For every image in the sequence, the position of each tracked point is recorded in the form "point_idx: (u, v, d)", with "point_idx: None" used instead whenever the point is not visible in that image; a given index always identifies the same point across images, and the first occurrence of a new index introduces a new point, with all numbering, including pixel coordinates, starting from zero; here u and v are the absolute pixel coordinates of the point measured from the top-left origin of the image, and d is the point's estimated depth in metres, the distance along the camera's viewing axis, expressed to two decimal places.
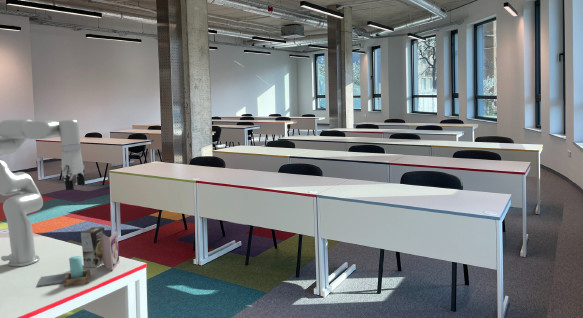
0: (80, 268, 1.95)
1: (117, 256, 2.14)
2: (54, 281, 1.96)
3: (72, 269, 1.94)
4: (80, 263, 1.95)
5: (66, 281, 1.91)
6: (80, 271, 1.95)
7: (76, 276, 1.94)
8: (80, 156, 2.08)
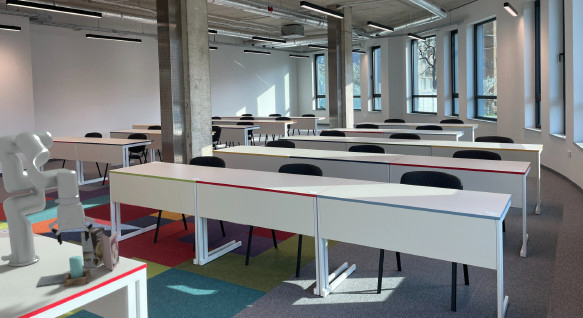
0: (80, 268, 1.95)
1: (117, 256, 2.14)
2: (54, 281, 1.96)
3: (72, 269, 1.94)
4: (80, 263, 1.95)
5: (66, 281, 1.91)
6: (80, 271, 1.95)
7: (76, 276, 1.94)
8: None
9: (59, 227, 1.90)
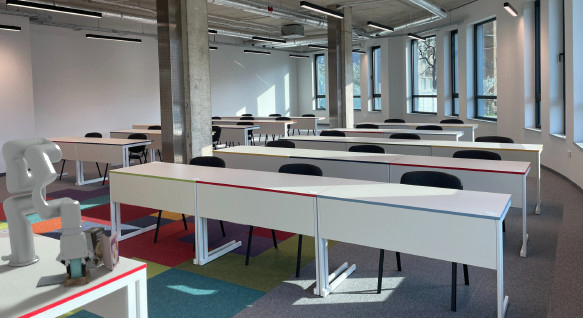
0: (80, 268, 1.95)
1: (117, 256, 2.14)
2: (54, 281, 1.96)
3: (72, 269, 1.94)
4: (80, 263, 1.95)
5: (66, 281, 1.91)
6: (80, 271, 1.95)
7: (76, 276, 1.94)
8: None
9: (62, 257, 1.91)
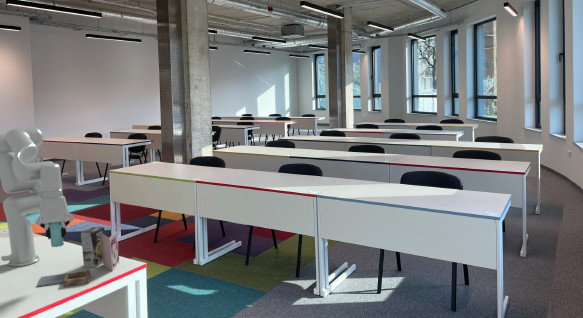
0: (60, 232, 1.94)
1: (117, 256, 2.14)
2: (54, 281, 1.96)
3: (52, 233, 1.93)
4: (60, 227, 1.94)
5: (66, 281, 1.91)
6: (60, 235, 1.94)
7: (56, 240, 1.94)
8: None
9: (41, 220, 1.90)
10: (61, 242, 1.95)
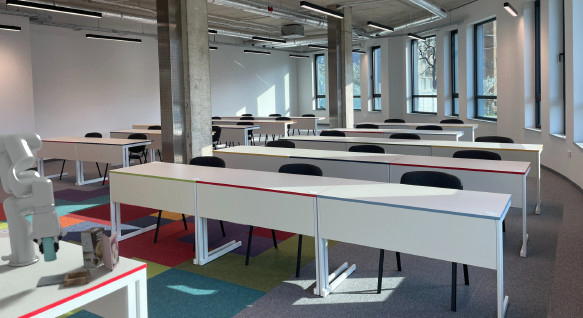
0: (53, 247, 1.95)
1: (117, 256, 2.14)
2: (54, 281, 1.96)
3: (44, 247, 1.94)
4: (53, 242, 1.95)
5: (66, 281, 1.91)
6: (53, 250, 1.95)
7: (49, 254, 1.94)
8: None
9: (34, 235, 1.92)
10: (54, 257, 1.96)
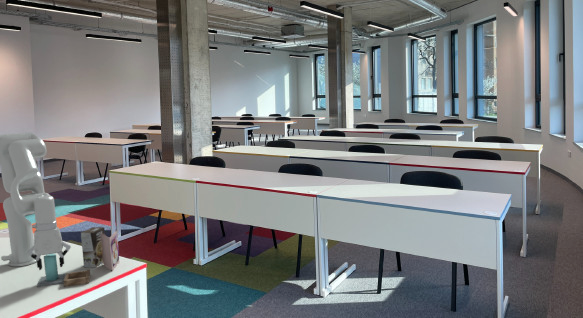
0: (55, 266, 1.97)
1: (117, 256, 2.14)
2: (54, 281, 1.96)
3: (46, 267, 1.96)
4: (55, 261, 1.97)
5: (66, 281, 1.91)
6: (55, 269, 1.97)
7: (50, 274, 1.96)
8: None
9: (36, 252, 1.93)
10: (56, 276, 1.97)
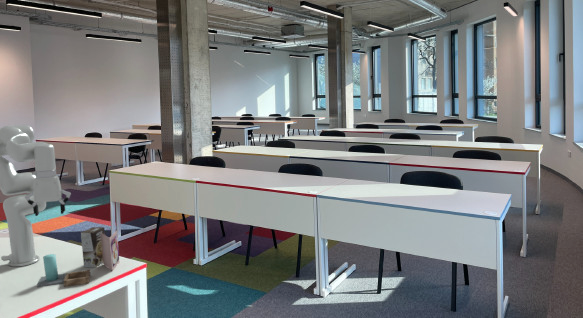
0: (54, 266, 1.97)
1: (117, 256, 2.14)
2: (54, 281, 1.96)
3: (46, 267, 1.95)
4: (54, 261, 1.97)
5: (66, 281, 1.91)
6: (54, 269, 1.97)
7: (50, 274, 1.96)
8: None
9: (35, 199, 1.95)
10: (56, 276, 1.97)
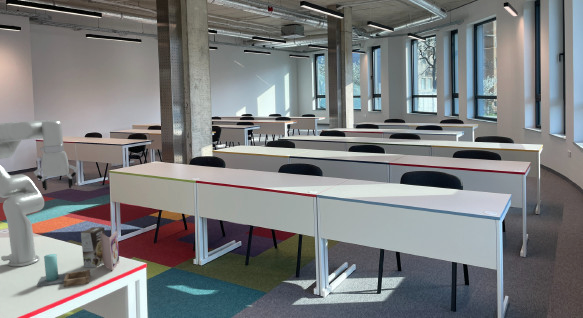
0: (55, 266, 1.97)
1: (117, 256, 2.14)
2: (54, 281, 1.96)
3: (47, 267, 1.96)
4: (55, 261, 1.97)
5: (66, 281, 1.91)
6: (55, 269, 1.97)
7: (51, 274, 1.96)
8: None
9: (44, 173, 2.02)
10: (56, 276, 1.98)
